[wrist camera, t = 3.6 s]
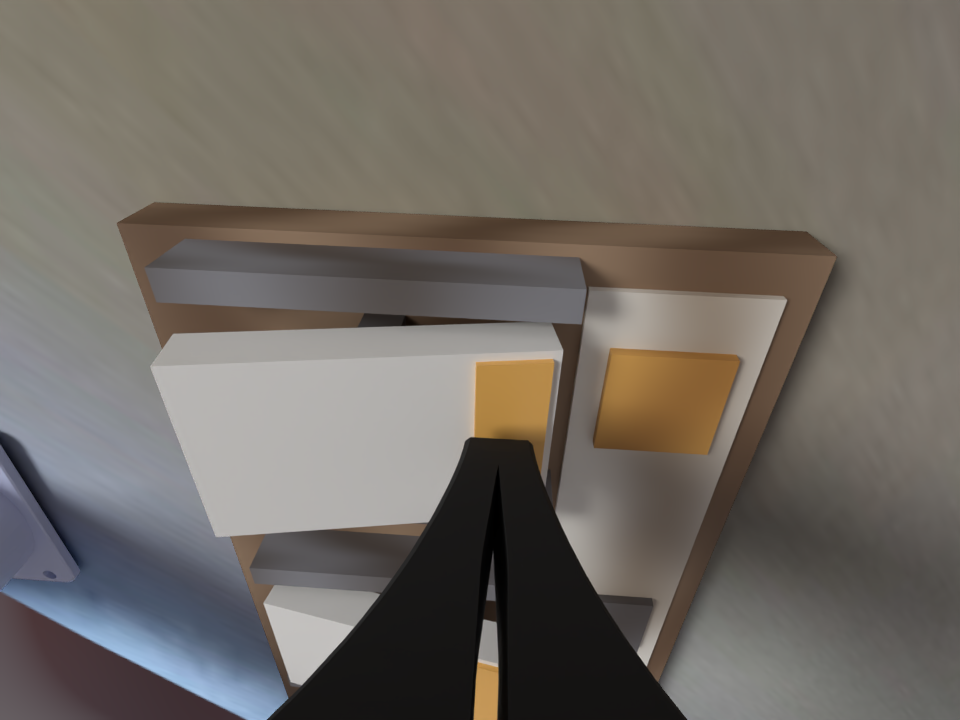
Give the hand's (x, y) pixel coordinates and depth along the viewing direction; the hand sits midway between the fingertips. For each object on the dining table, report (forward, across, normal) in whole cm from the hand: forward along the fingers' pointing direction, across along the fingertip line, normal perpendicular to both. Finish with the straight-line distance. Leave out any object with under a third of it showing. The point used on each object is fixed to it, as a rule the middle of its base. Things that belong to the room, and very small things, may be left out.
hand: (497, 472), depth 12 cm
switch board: (+5, +1, +10) cm, 11 cm away
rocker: (+2, +3, 0) cm, 3 cm away
